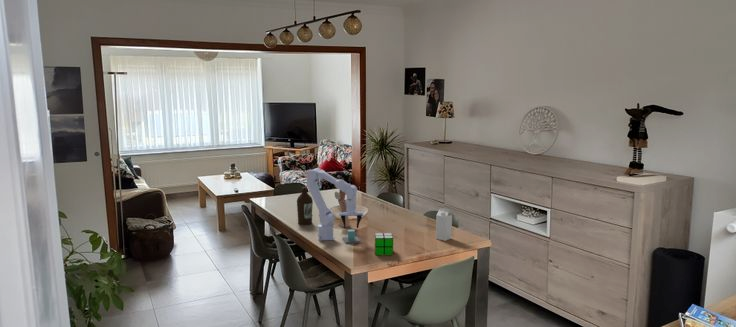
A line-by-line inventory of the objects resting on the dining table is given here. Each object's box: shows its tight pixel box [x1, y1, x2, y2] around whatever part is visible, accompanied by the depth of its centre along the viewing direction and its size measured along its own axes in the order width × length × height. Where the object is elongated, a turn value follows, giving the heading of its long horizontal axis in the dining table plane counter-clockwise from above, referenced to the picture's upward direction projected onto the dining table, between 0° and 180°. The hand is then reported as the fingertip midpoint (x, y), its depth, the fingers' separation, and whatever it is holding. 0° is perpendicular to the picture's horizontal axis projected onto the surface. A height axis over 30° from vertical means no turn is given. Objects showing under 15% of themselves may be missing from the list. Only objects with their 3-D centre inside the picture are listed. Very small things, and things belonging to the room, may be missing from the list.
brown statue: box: [334, 181, 351, 228], centre depth 350 cm, size 11×7×30 cm
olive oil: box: [296, 186, 314, 226], centre depth 356 cm, size 11×11×25 cm
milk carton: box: [435, 207, 453, 242], centre depth 322 cm, size 7×7×19 cm
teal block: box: [347, 228, 356, 240], centre depth 317 cm, size 4×4×6 cm
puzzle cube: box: [374, 232, 394, 256], centre depth 297 cm, size 10×10×10 cm
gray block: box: [341, 235, 361, 245], centre depth 318 cm, size 9×9×2 cm
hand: (351, 227), depth 317 cm, fingers open, 7 cm apart
